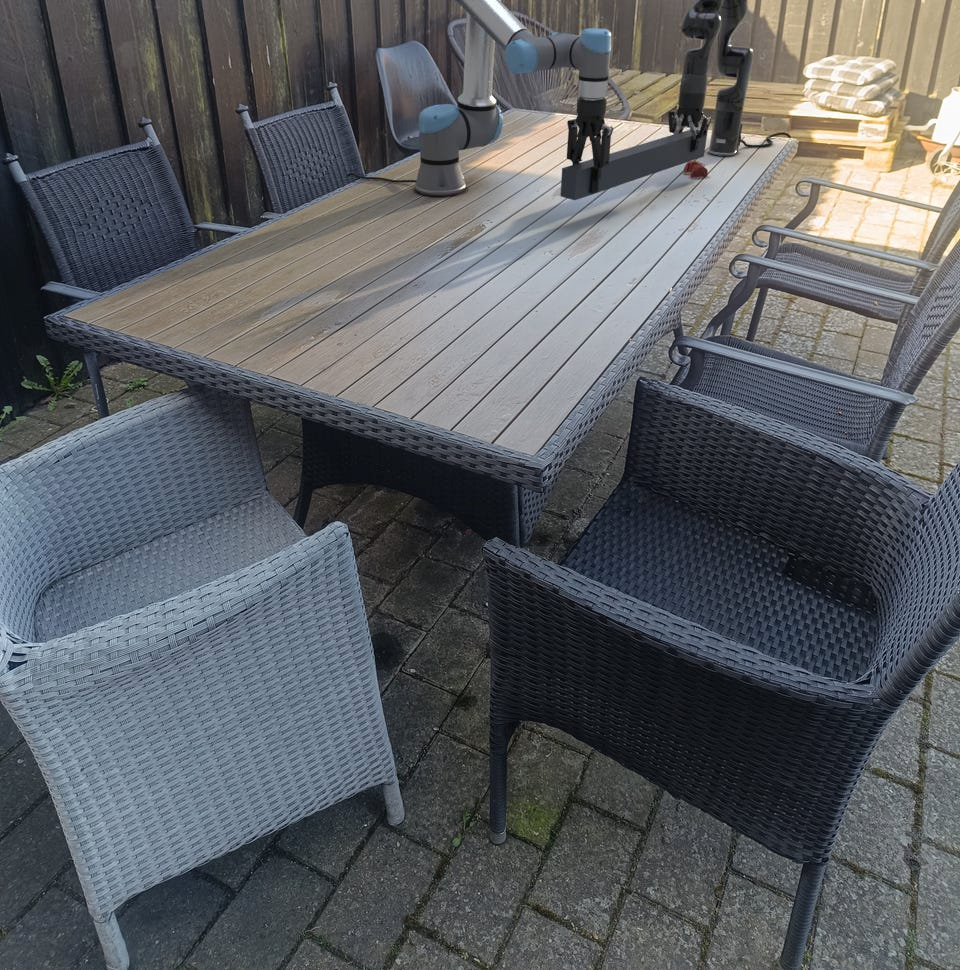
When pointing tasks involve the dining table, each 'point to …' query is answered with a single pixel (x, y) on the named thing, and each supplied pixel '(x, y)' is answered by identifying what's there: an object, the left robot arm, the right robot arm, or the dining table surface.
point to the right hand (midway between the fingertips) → (685, 149)
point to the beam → (631, 164)
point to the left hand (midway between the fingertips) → (585, 189)
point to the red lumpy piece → (696, 169)
